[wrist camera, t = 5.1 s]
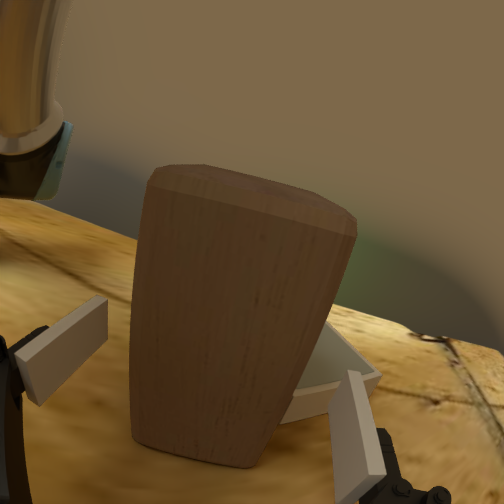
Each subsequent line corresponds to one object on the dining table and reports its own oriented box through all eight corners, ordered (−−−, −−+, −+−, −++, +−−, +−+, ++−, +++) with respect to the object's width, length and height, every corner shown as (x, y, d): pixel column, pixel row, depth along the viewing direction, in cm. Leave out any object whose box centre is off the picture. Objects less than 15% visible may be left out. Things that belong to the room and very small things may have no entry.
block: (256, 392, 27) (323, 194, 21) (254, 474, 17) (371, 218, 12) (160, 369, 27) (194, 161, 21) (128, 444, 17) (143, 161, 11)
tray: (235, 348, 34) (243, 320, 32) (315, 343, 39) (325, 318, 38) (279, 424, 23) (294, 395, 22) (367, 400, 29) (383, 373, 27)
